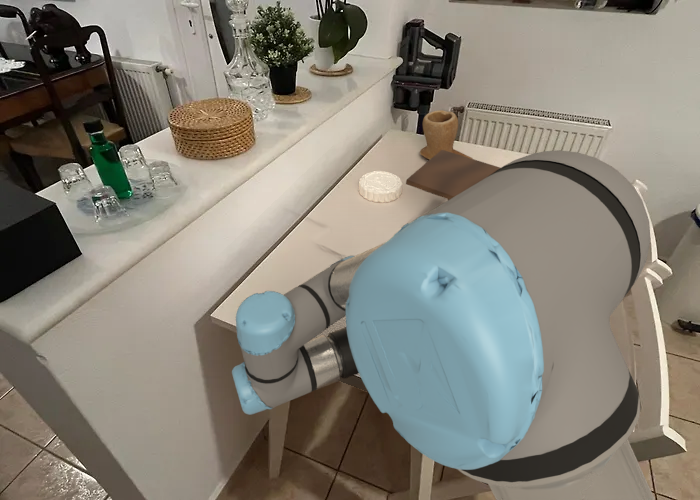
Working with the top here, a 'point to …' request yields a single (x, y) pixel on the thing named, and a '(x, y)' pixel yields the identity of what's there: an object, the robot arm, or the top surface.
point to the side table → (450, 174)
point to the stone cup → (440, 133)
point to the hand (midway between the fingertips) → (453, 312)
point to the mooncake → (380, 186)
